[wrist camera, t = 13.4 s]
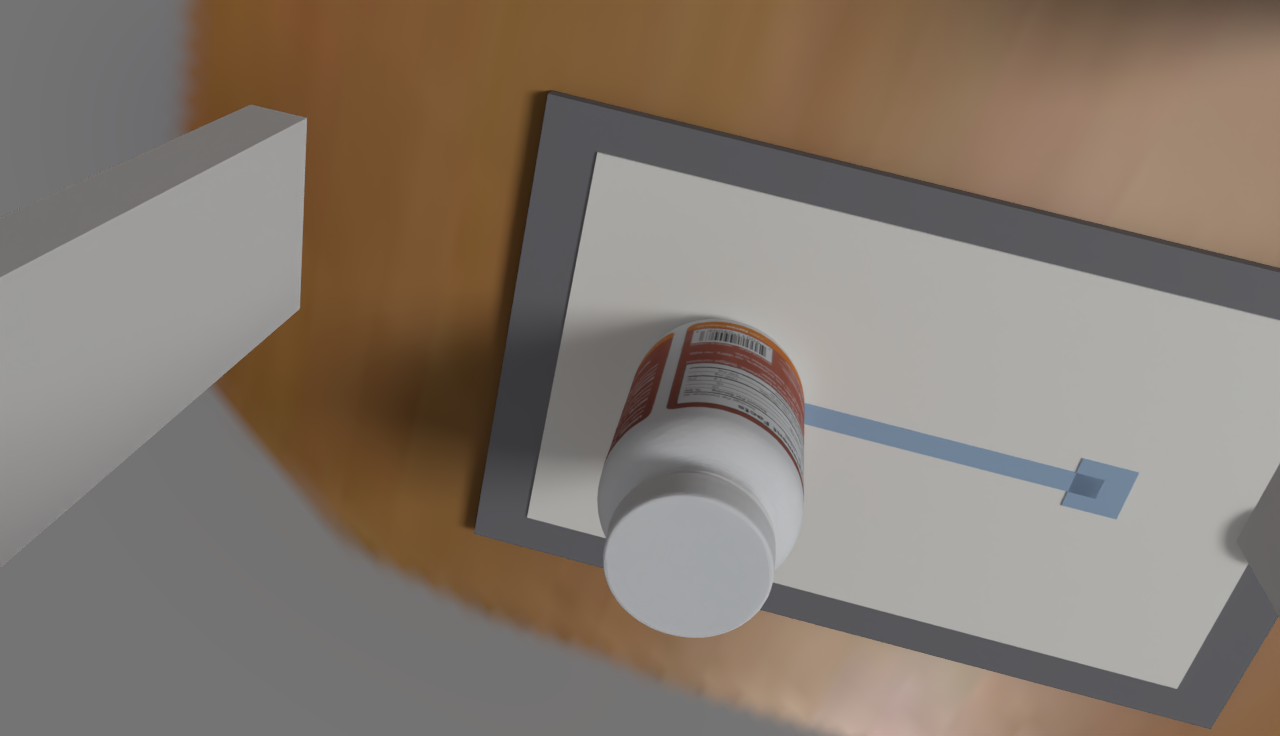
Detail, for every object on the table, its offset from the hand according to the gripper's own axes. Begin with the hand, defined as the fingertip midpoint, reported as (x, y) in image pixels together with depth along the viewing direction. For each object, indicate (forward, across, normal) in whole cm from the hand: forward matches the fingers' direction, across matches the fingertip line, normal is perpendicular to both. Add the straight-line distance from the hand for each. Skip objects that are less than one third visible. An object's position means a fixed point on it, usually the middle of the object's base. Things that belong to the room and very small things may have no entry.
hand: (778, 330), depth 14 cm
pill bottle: (+22, 0, -12) cm, 25 cm away
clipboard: (+22, +7, -13) cm, 27 cm away
